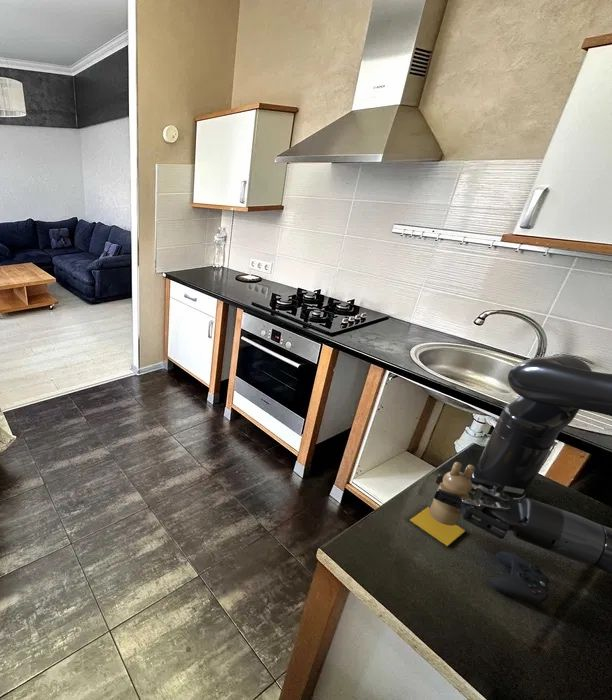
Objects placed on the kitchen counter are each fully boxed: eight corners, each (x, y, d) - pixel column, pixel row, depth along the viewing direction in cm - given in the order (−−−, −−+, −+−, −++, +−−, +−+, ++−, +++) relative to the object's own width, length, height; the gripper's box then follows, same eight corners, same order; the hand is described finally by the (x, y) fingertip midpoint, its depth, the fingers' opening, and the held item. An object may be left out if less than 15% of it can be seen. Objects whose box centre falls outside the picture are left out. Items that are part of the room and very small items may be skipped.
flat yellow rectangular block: (427, 507, 82) (428, 506, 81) (464, 531, 76) (465, 530, 76) (409, 520, 78) (410, 519, 78) (447, 546, 73) (447, 545, 73)
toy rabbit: (426, 504, 79) (447, 453, 73) (453, 511, 77) (476, 459, 72) (432, 521, 75) (454, 468, 69) (460, 528, 73) (485, 475, 68)
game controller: (494, 549, 71) (534, 548, 67) (512, 576, 70) (554, 576, 66) (487, 583, 65) (531, 585, 61) (507, 613, 64) (553, 617, 60)
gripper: (558, 489, 69) (443, 452, 78) (574, 543, 58) (440, 492, 68) (540, 519, 72) (432, 480, 81) (553, 575, 61) (427, 522, 71)
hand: (436, 485), depth 75 cm, fingers closed on toy rabbit, 4 cm apart
